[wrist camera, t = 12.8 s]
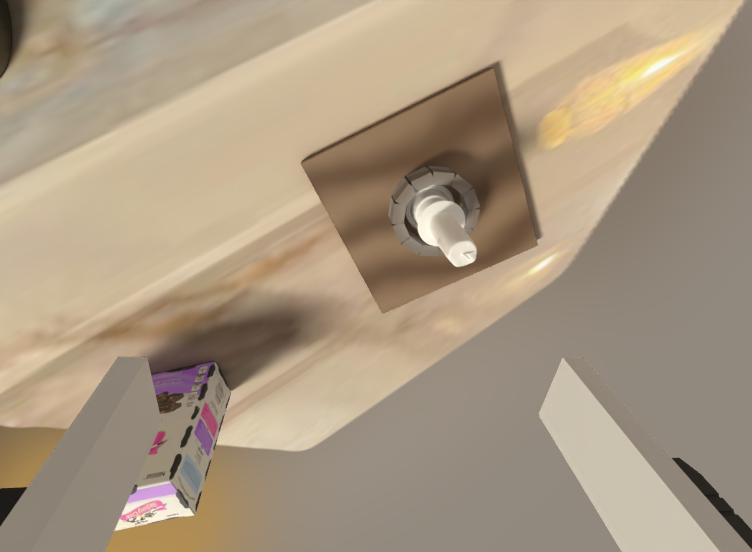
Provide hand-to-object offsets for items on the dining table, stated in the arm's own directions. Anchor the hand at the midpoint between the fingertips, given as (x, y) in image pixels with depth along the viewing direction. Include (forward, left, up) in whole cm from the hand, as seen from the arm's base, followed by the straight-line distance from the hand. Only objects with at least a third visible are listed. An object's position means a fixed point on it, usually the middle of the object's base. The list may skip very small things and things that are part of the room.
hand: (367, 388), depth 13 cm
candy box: (+16, -32, -31) cm, 47 cm away
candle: (+8, +7, -30) cm, 32 cm away
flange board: (+8, +7, -31) cm, 32 cm away
